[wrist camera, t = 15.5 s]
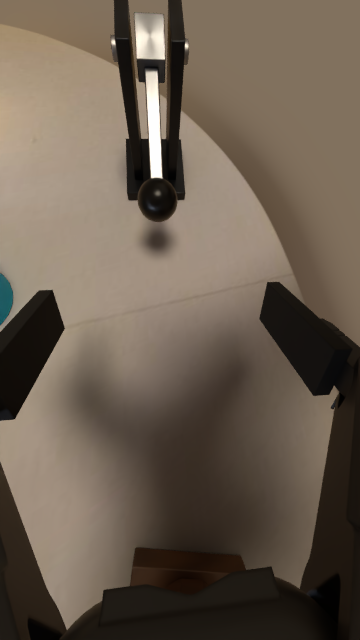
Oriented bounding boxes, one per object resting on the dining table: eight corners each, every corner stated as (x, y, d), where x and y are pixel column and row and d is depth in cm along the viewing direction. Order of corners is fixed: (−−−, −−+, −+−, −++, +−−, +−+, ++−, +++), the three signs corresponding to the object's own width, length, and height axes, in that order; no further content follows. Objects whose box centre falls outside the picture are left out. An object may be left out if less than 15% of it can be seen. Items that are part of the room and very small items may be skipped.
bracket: (184, 199, 30) (201, 60, 17) (128, 200, 29) (99, 56, 16) (180, 147, 32) (192, -17, 18) (127, 147, 31) (99, -24, 18)
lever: (176, 224, 24) (179, 217, 20) (140, 224, 23) (137, 218, 20) (171, 49, 20) (173, 5, 17) (128, 47, 20) (122, 2, 17)
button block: (240, 555, 22) (257, 594, 18) (236, 663, 21) (253, 731, 17) (135, 547, 22) (129, 585, 18) (121, 657, 20) (111, 725, 16)
